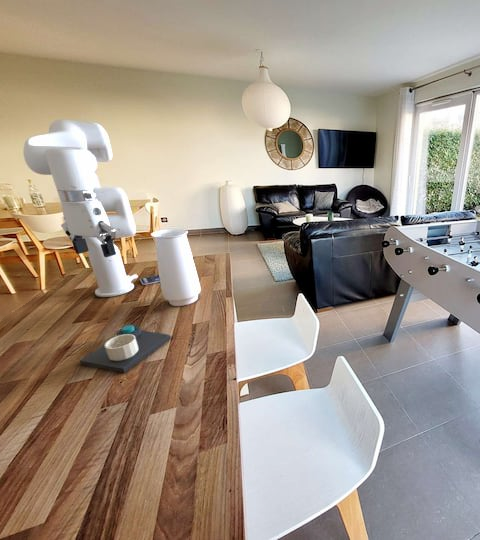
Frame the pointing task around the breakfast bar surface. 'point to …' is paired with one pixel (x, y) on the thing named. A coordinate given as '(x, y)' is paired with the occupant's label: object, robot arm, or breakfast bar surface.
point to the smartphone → (150, 280)
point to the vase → (176, 267)
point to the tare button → (128, 329)
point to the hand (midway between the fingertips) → (96, 254)
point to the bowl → (121, 347)
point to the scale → (146, 346)
